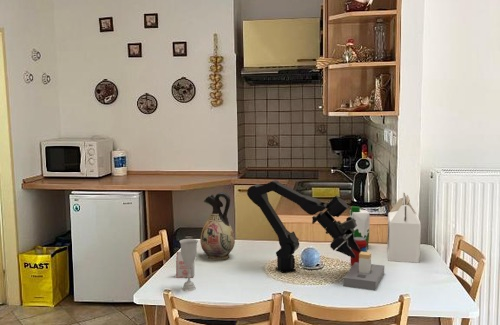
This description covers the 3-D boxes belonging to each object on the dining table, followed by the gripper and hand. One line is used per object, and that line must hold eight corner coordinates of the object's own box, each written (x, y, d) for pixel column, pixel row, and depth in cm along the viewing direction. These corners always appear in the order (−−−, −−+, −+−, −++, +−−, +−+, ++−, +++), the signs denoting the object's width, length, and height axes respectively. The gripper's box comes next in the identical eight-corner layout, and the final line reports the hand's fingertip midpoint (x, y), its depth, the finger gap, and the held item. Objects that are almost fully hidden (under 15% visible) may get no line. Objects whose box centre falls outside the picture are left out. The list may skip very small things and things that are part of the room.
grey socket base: (343, 286, 206) (343, 277, 205) (354, 270, 226) (355, 261, 226) (375, 290, 201) (375, 281, 201) (384, 273, 222) (384, 265, 221)
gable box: (419, 263, 237) (422, 199, 234) (388, 261, 240) (390, 198, 237) (415, 250, 259) (417, 191, 256) (387, 248, 262) (389, 190, 259)
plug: (358, 280, 213) (359, 253, 211) (360, 277, 216) (361, 251, 215) (368, 281, 211) (369, 255, 210) (370, 278, 215) (371, 252, 214)
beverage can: (366, 268, 228) (367, 240, 227) (350, 267, 230) (351, 239, 228) (366, 264, 235) (367, 237, 234) (350, 263, 236) (351, 236, 235)
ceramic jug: (194, 260, 239) (193, 192, 236) (209, 251, 254) (209, 187, 250) (229, 264, 233) (229, 195, 230) (243, 255, 247) (243, 190, 244)
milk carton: (348, 245, 266) (349, 205, 264) (366, 245, 266) (367, 205, 264) (351, 250, 257) (352, 208, 255) (370, 250, 257) (371, 208, 255)
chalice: (180, 285, 206) (179, 238, 204) (198, 284, 207) (198, 238, 205) (179, 292, 199) (179, 243, 197) (198, 291, 199) (197, 243, 197)
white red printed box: (177, 274, 219) (177, 250, 218) (194, 275, 219) (194, 250, 218) (176, 277, 215) (176, 253, 214) (193, 278, 215) (193, 253, 214)
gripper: (339, 215, 205) (368, 247, 202) (349, 207, 223) (376, 236, 220) (318, 234, 209) (346, 265, 206) (330, 224, 226) (356, 253, 223)
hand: (357, 254), depth 214 cm, fingers open, 9 cm apart
